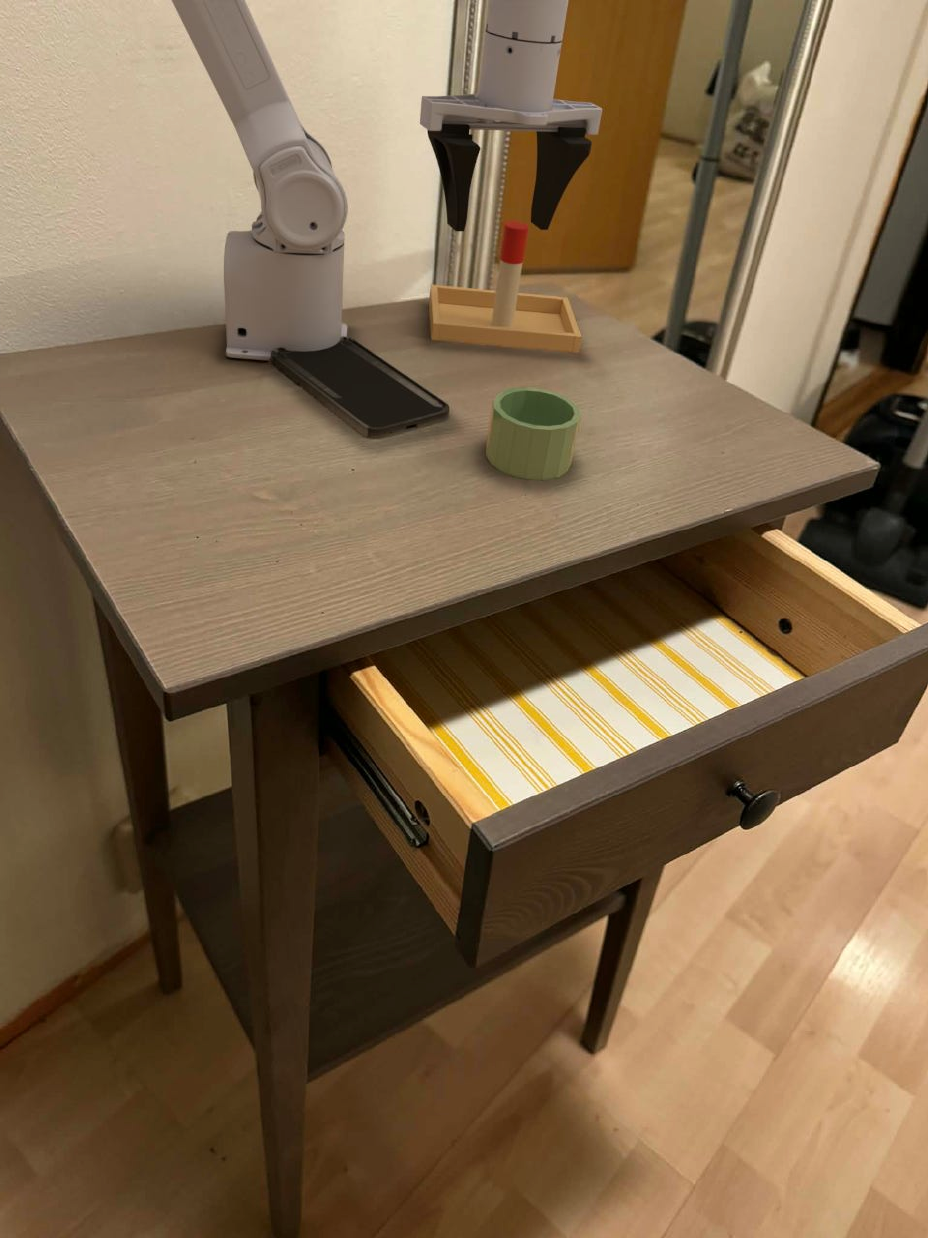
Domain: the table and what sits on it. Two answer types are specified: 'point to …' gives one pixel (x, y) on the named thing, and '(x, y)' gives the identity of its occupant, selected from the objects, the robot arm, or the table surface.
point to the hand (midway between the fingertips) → (498, 226)
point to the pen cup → (532, 433)
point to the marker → (509, 273)
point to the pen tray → (533, 327)
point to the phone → (362, 388)
